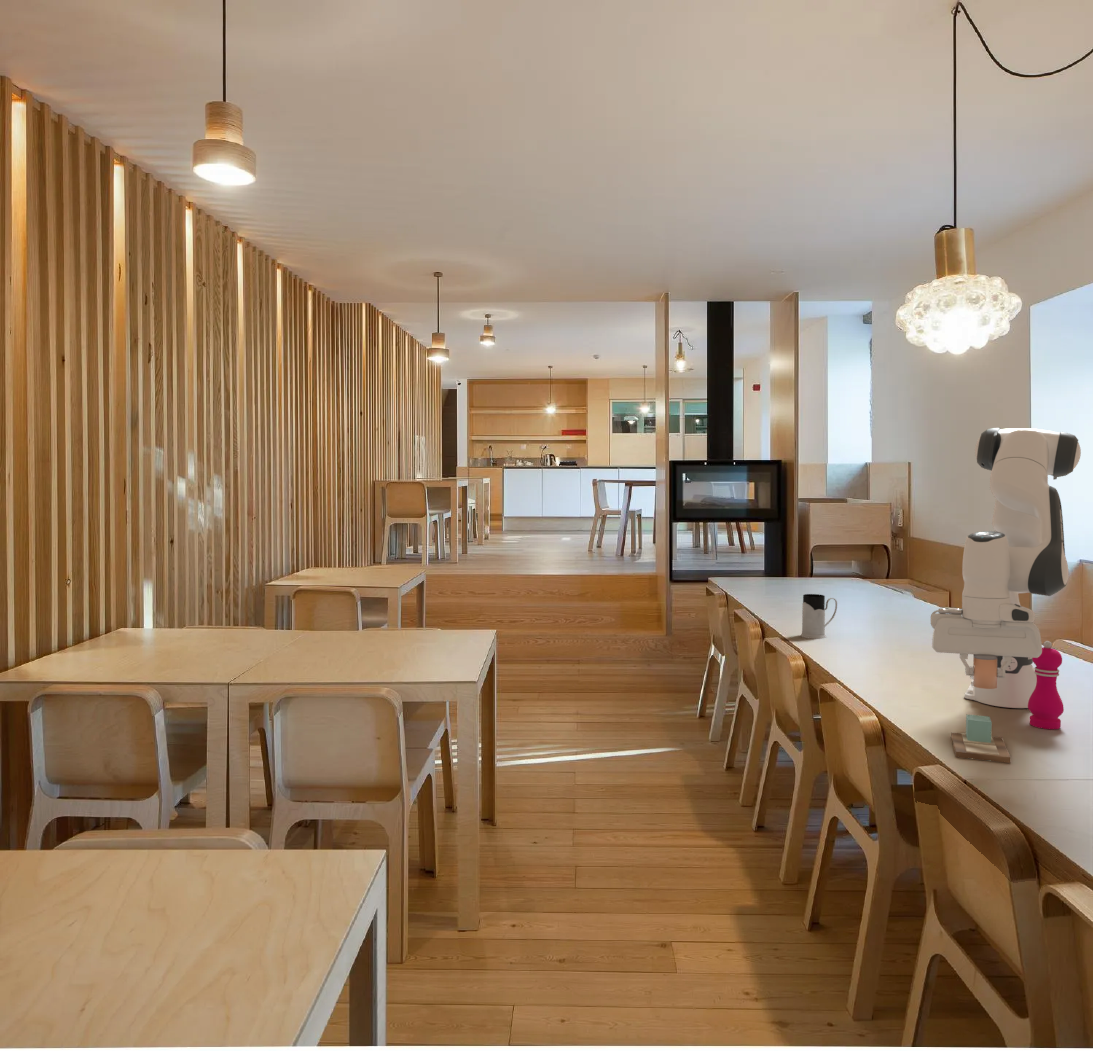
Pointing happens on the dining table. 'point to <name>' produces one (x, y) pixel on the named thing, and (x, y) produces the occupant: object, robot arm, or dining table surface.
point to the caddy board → (980, 748)
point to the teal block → (978, 728)
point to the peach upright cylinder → (985, 671)
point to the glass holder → (814, 616)
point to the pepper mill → (1046, 690)
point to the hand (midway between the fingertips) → (985, 676)
